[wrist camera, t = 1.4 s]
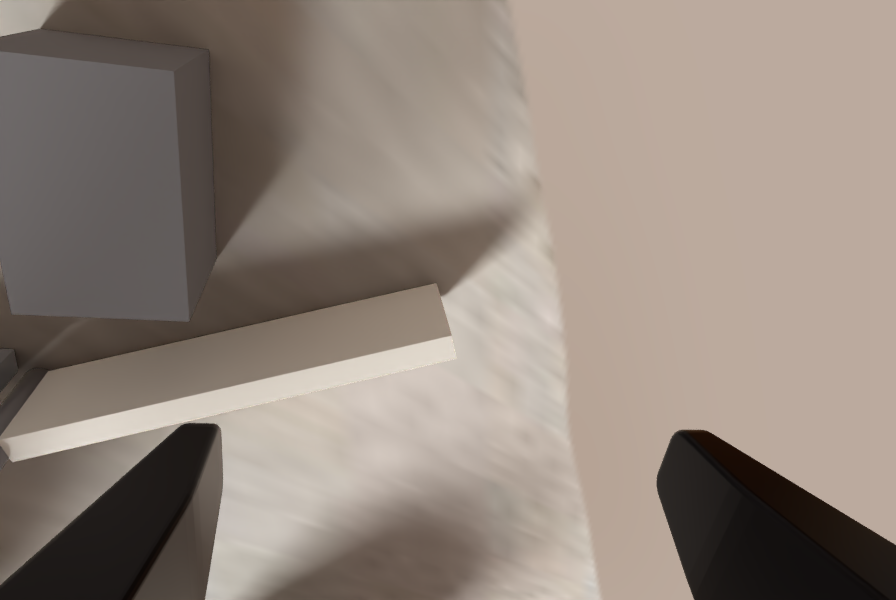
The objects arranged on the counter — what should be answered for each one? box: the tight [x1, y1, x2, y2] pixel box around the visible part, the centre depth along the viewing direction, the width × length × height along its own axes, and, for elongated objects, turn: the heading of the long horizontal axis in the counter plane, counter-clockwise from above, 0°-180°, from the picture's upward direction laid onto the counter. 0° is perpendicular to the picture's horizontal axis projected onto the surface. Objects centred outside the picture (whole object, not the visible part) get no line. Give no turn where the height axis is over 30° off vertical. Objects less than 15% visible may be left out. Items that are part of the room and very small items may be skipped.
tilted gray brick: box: [0, 29, 217, 322], centre depth 16 cm, size 6×4×4 cm, turn 172°
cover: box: [0, 283, 457, 471], centre depth 19 cm, size 14×1×4 cm, turn 100°
